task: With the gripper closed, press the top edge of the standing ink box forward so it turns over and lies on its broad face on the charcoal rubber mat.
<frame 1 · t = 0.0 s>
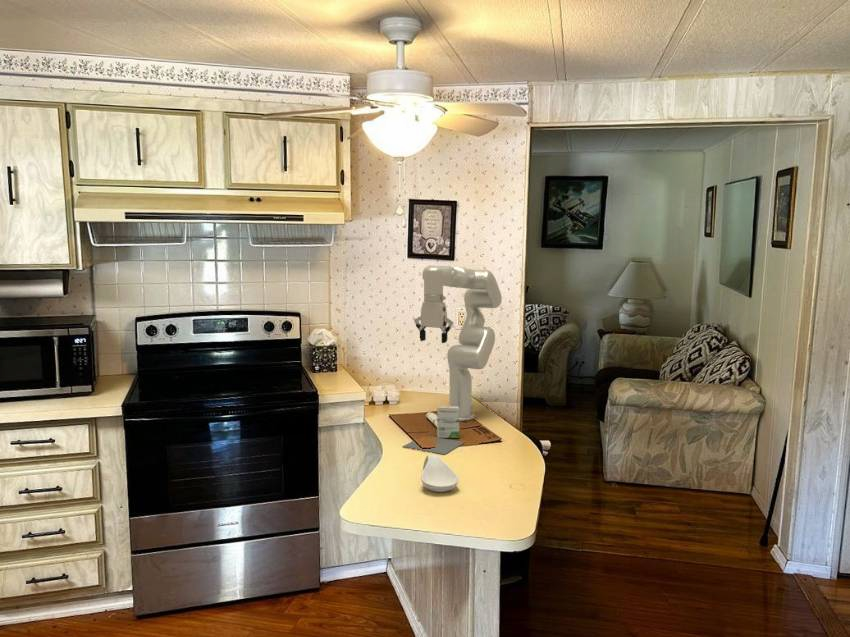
hand: (433, 341, 273), 37 cm above the worktop, tool pointing down, fingers open, 9 cm apart
mat: (433, 445, 260), on the worktop
ink box: (448, 437, 270), on the worktop, touching mat
spoon rest: (435, 483, 223), on the worktop
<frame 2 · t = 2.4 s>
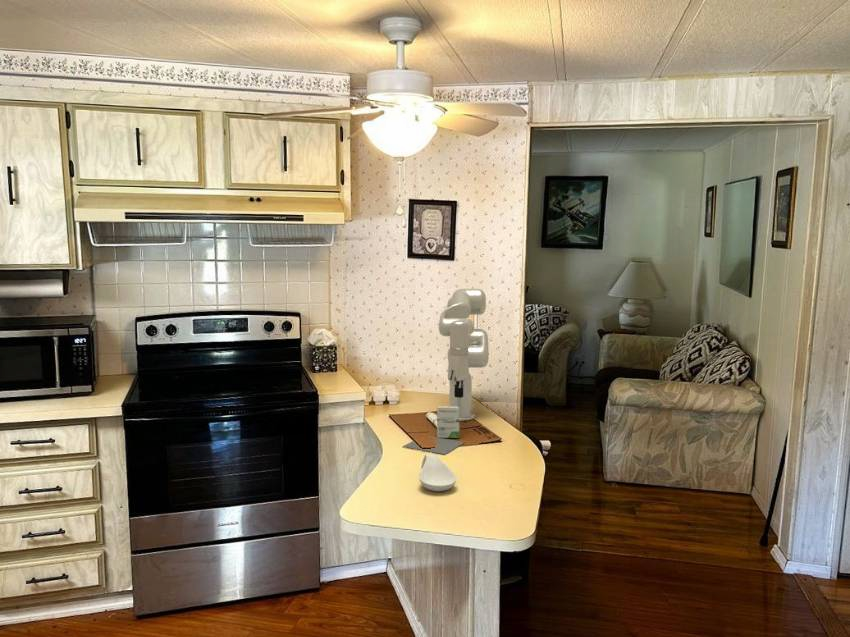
hand: (458, 396, 275), 14 cm above the worktop, tool pointing down, fingers closed
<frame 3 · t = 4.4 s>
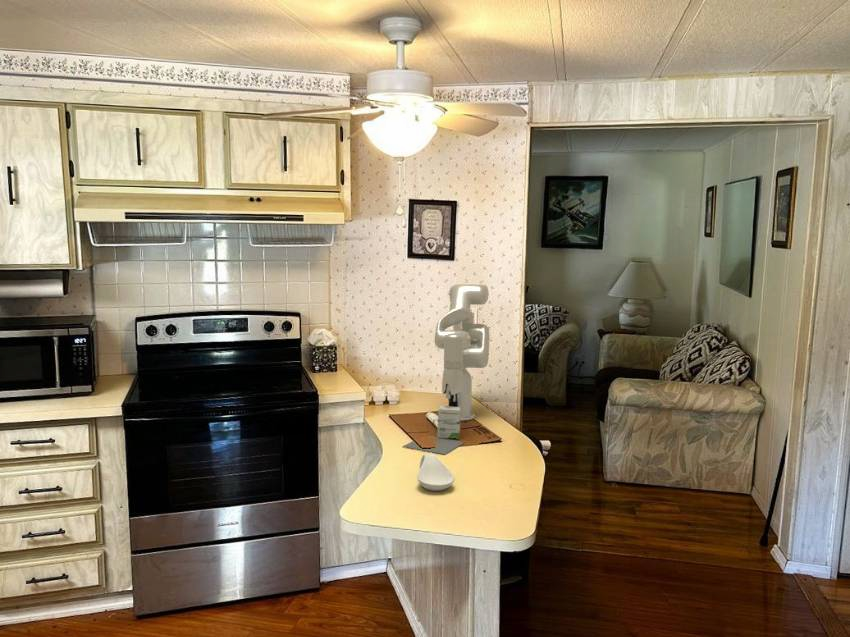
hand: (453, 410, 272), 10 cm above the worktop, tool pointing down, fingers closed
ink box: (448, 436, 270), on the worktop, touching gripper, mat
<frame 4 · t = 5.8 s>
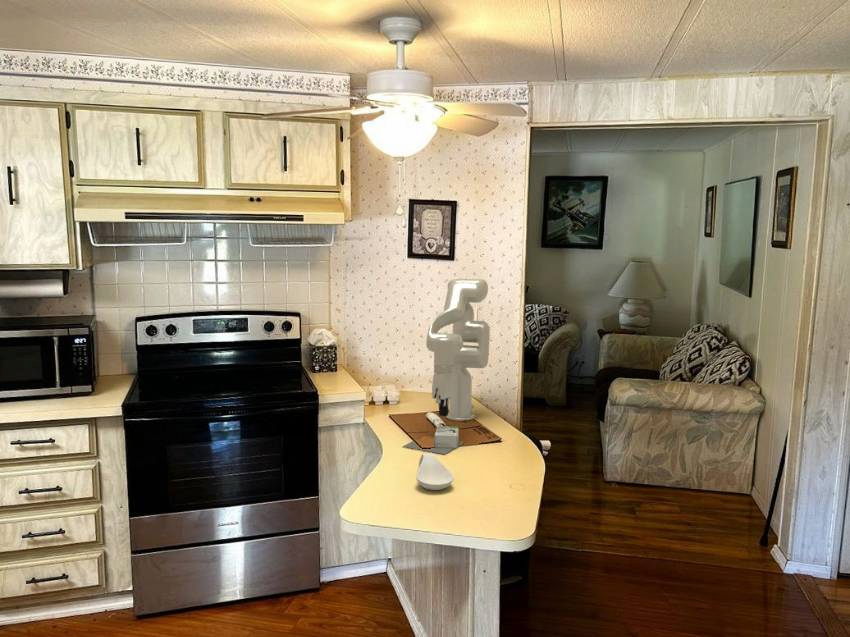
hand: (443, 415, 265), 10 cm above the worktop, tool pointing down, fingers closed
ink box: (447, 431, 267), point 3 cm above the worktop, touching mat
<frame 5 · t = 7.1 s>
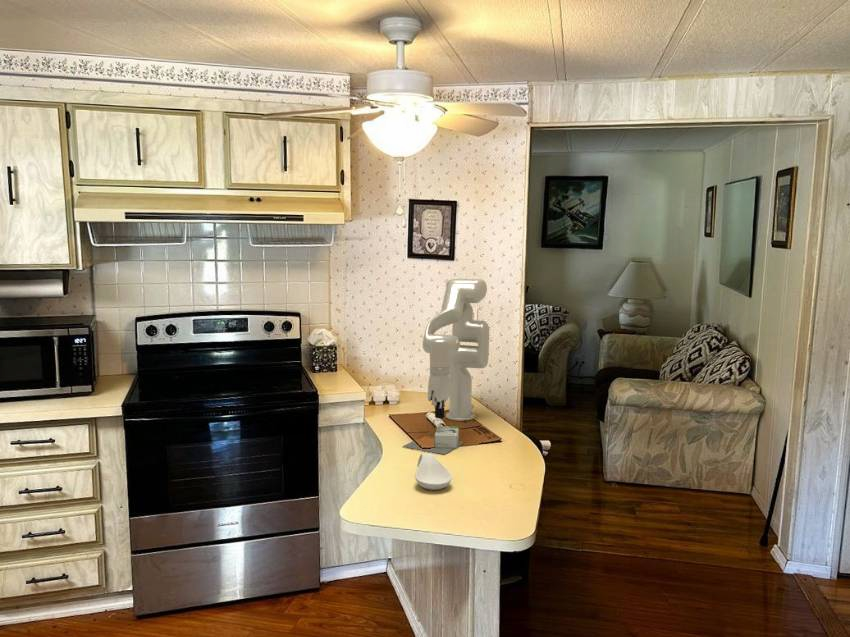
hand: (439, 417, 263), 10 cm above the worktop, tool pointing down, fingers closed
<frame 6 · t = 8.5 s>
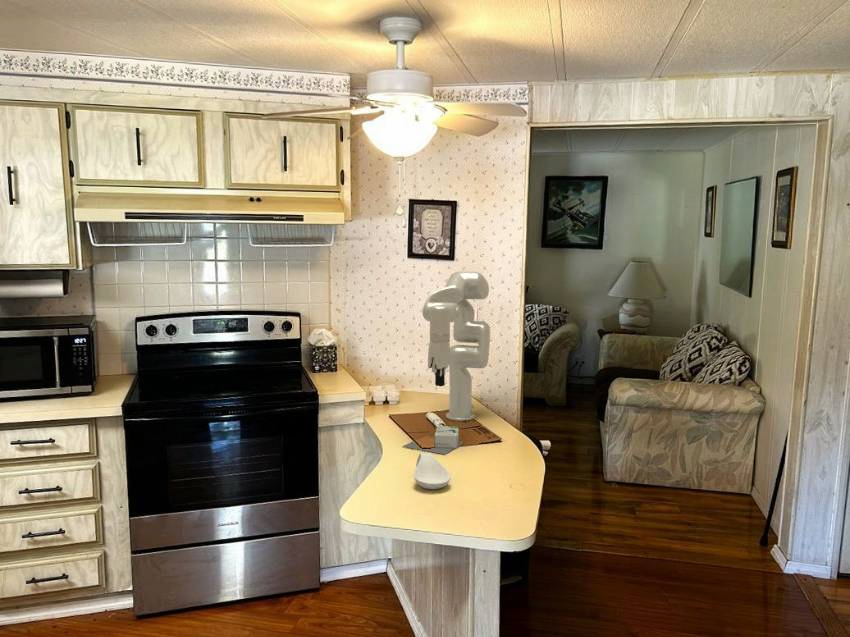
hand: (439, 385, 261), 22 cm above the worktop, tool pointing down, fingers closed
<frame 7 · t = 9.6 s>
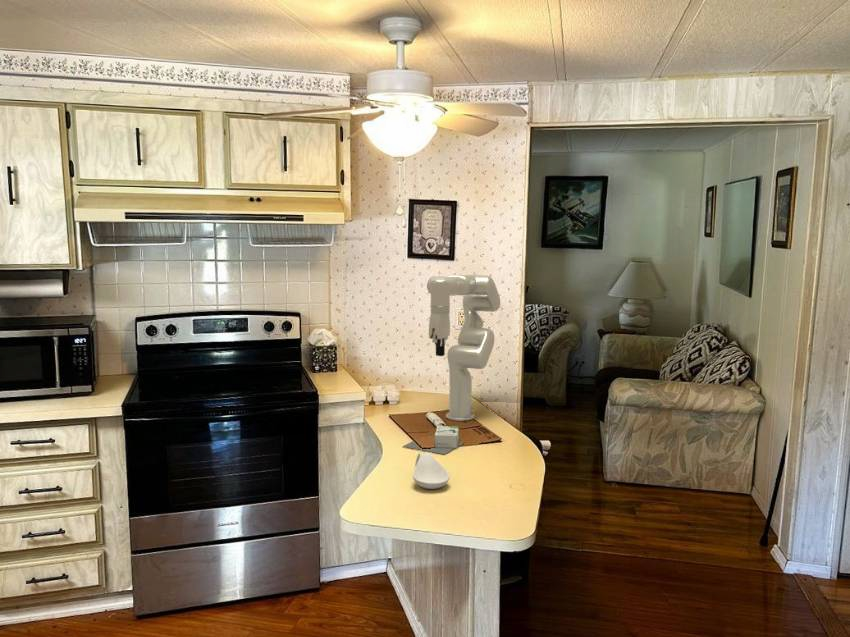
hand: (440, 355, 274), 31 cm above the worktop, tool pointing down, fingers closed
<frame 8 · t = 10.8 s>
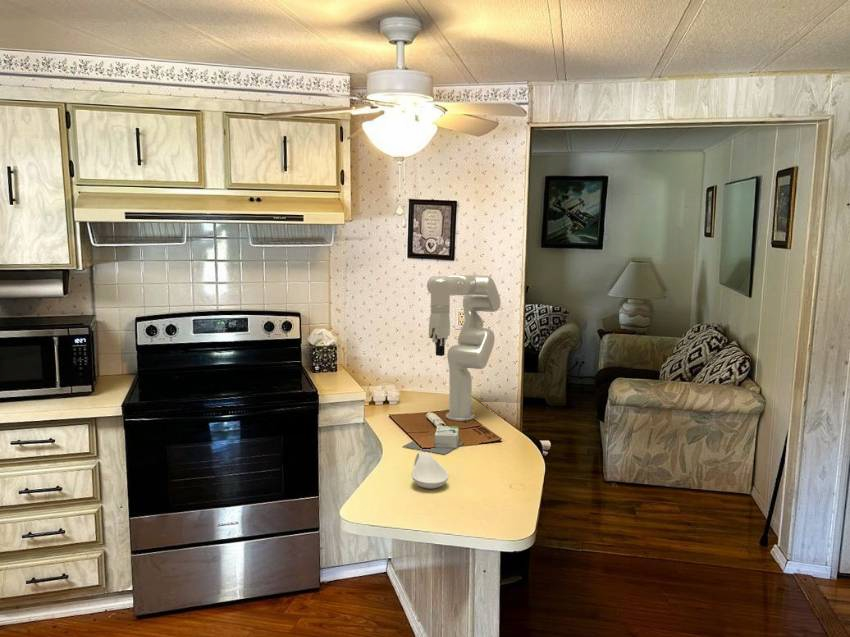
hand: (440, 355, 275), 31 cm above the worktop, tool pointing down, fingers closed
at the end: ink box tilted 91°; ink box inside the target area on the mat (8.7 cm from its centre), point 3.0 cm above the mat's base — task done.
